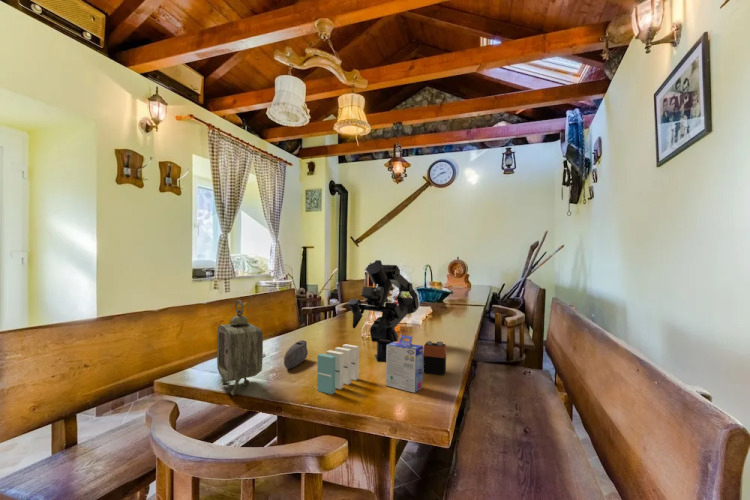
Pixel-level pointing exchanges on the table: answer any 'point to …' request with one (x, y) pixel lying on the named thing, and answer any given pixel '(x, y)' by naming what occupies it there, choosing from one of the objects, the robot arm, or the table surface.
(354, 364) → the domino
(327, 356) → the domino
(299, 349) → the perforated stone tool
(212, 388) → the table surface
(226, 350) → the tabletop clock
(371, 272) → the robot arm
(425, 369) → the battery
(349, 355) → the domino
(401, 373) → the ink cartridge box
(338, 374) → the domino
